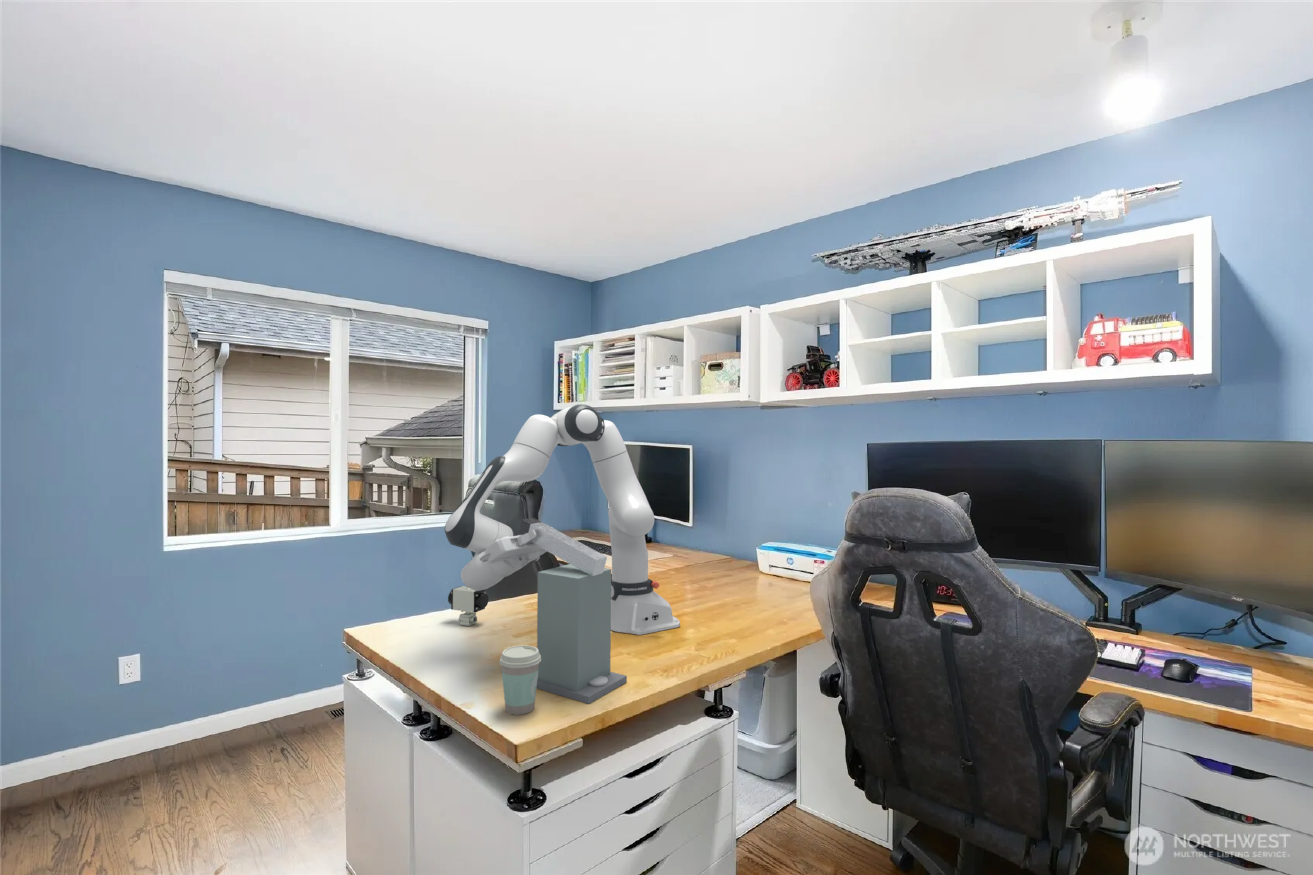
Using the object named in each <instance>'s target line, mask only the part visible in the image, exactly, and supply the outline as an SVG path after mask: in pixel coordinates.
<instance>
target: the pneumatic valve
mask: <svg viewBox="0 0 1313 875" xmlns="http://www.w3.org/2000/svg"><path fill="white" fill-rule="evenodd" d="M447 602H448V604H449V605H450V607H451V608H450V609H451V610H452V611H458V612H459V611H460V614H459V616H458V622H459V623H458V624H459V625H460V626H464V627H471V626H472V625H475V624H477V622H478V617H477V613H478V612H481V611H483V610H485V608H486V607H487V606H488V604H489V595H488V593H487V592H486V589H484V590H480V591H475V590H472V589H470V588H468V587H467V586H466V585H460V586H457V587H455V588H451V590H450V591H449V594H448V596H447Z"/></svg>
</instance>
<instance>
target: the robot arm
mask: <svg viewBox="0 0 1313 875" xmlns="http://www.w3.org/2000/svg"><path fill="white" fill-rule="evenodd" d="M579 444H583V445H584V447H585V448H586V449H587V451H588V452H589V456H590V458H591V462H592V466H593V468H594V471H595V473H596V476H597V480H598V482H599V485H600V488H601V490H602V492H603V494H604V496H605V498H606V500H607V502H608V505H609V508H608V511H607V512H608V514H607V515H608V526H609V527H608V528H609V538H610V547H611V548H610V549H611V631H613V632H618V633H624V634H625V633H627V634H633V635H638V636H642V635H646V634H652V633H657V632H661V631H667V630H671V629H677V628H680V626H681V623H680V620H679V618H677V617H676V616H673V609H672V606H671V605H670V603H669V601H668V600H666V599H665V598H664V597H662V596H661V595H660V594H658V592H656V591H655V590H654V589H659V587H660V582H658V581H656V580H652V579H650V578H649V553H648V552H649V551H648V548H647V542H646V536H645V535H648V533H650V532H651V531H652V529H653V527H654V525H655V515H654V511H653V509H652V508H651V505H650V503H649V501H648V499H647V496H646V494H645V492H644V490H643V488H642V486H641V483H640V482H639V479H638V477H637V474H636V473H635V469H634V467H633V463H632V461H631V458H630V455H629V453H628V450H627V447H626V444H625V440H623V437H622V435H621V433H620V430H619V429H618V427H617V426H616V424H615V423H614V422H612V421H611V420H608V419H607V420H605V419H603V418H602V416H601V415H600V414H599V413H598V411H597V410H596V409H595V408H594V407H592V406H590V405H588V404H581V403H580V404H575V405H571V406H568V407H565V408H563V409H561V410H560V411H558V412H556V413H554V414H551V415H550V416H547V415H544V414H533V415H531V416H530V417H528V419H527V420H526V421H525V422H524V424H523V425H522V426H521V428H520V430H519V431H518V433H517V435H516V437H515V439H514V441H513V443H512V445H511V447H510V448H509V450H508V451H507V452H506V453H505V454H503V455H502V456H500V455H499V456H496V457H495V458H493V459H492V460H491V461H490V462H489V464H487V466H486V467H485V469H484V470H483V472H481V474H480V476H479V477H478V479H477V480H476V482H474V485H473V486H472V487H471V488H470V490H469V492H467V495H466V496H465V497H464V499H463V500H462V501H461V503H460V504H459V505H458V506H457V508H456V509H455V510H454V511H453V512H452V513H451V515H450V516H449V517H448V519H447V521H446V523H445V525H444V533H445V536H446V539H447V541H448V543H449V544H450V545H451V546H454V547H458V548H461V549H466V550H468V551H471V552H474V553H475V554H474V556H473V558H472V559H471V560H470V561H468V562H467V563H466V564H465V566H464V567H463V568H462V569H461V571H460V577H461V578H460V579H461V581H462V583H463V584H464V586H466V587H468V588H470V589H472V590H475V591H480V590H484V589H485V590H487V589H489V588H491V587H493V586H495V585H497V584H498V583H499V582H501V581H502V580H503V579H504V578H505V577H510V576H511V575H512V574H513V573H515V572H517V571H519V570H520V569H522V568H523V567H525V566H528V565H529V564H530V565H531V564H532V563H535V562H537V561H538V560H539V559H540V556H542V555H544V554H545V553H547V552H548V551H546V550H544V549H543V548H541V547H539V546H537V545H535V544H534V543H532V542H530V541H531V540H533V539H536V538H537V537H539V533H538V530H532V531H530V532H529V533H526V534H524V535H515V532H514V529H512V527H511V526H508V525H507V524H505V523H503V522H500V521H498V520H496V519H493V518H491V517H488V516H487V515H484V514H482V513H481V508H482V507H483V505H484V504H485V502H486V501H487V499H488V498H489V497H490V495H491V494H492V493H493V490H495V489H494V488H496V487H497V485H499V484H501V483H503V482H519V483H521V482H522V483H523V482H524V483H525V482H527V483H528V482H532V481H534V480H536V479H539V477H541V476H542V475H543V473H544V472H545V470H546V469H547V466H548V464H549V462H550V459H551V456H552V454H553V452H554V450H555V448H556V447H557V446H559V447H569V446H576V445H577V446H578V445H579ZM551 527H552V528H554V527H553V526H551Z"/></svg>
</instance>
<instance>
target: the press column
mask: <svg viewBox="0 0 1313 875" xmlns="http://www.w3.org/2000/svg"><path fill="white" fill-rule="evenodd" d="M611 579H612V568H605V567H604V571H603V573H601V574H598V575H595V576H591V575H589V574H587V573H585V572H583V571H582V570H580V569H578V568H576V567H575V566H573V565H571V564H569V563H567V564H564V565H560V566H556V567H552V568H549V569H545V570H541V571H537V601H536V602H537V605H536V606H537V611H536V612H537V617H536V620H537V622H536V626H537V627H536V634H537V635H536V638H537V639H536V648H538V650H539V654H540V655H541V661H540V662H539V671H538V680H537V688H536V690H537V689H538V690H541V691H544V692H548V693H550V694H554V695H558V696H560V697H564V698H568V699H571V700H575V701H578V702H581V703H584V704H588V705H590V704H592V703H593V702H595V701H597V700H598V698H599V699H600V698H602V697H604V696H605V695H607V694H610V692H612V691H614V690H616V689H617V688H619V687H621V686H623V685H625V684H626V683H627V682H628V676H627V675H625V674H622V673H617V672H615V671H614V672H613V671H611V648H612V647H611V641H612V640H611V639H612V637H611V633H612V630H611Z"/></svg>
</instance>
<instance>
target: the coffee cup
mask: <svg viewBox="0 0 1313 875" xmlns="http://www.w3.org/2000/svg"><path fill="white" fill-rule="evenodd" d="M540 661H541V655H540V654H539V650H538V648H537V646H531V645H525V644H524V645H514V646H510V647H507V648H505V649H504V650H503V651H502V652H501V655H500V658H499V662H498V663H499V665H500V668H501V677H502V679H501V680H502V686H503V698H504V707H505V712H507V714H509V715H515V716H516V715H517V716H522V715H525V714H529V713H532V711H534V709H535V704H536V696H537V680H538V671H539V662H540Z"/></svg>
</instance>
